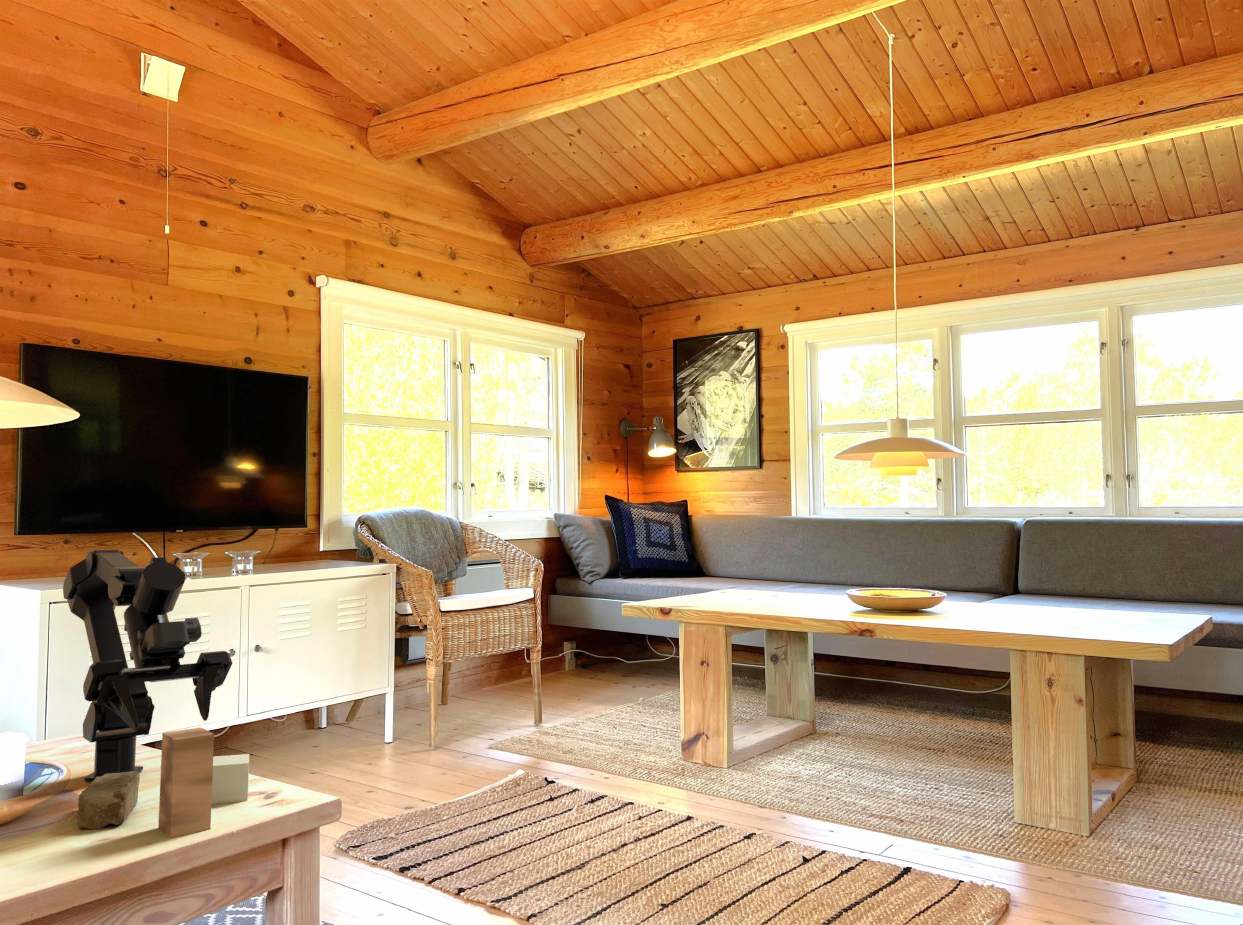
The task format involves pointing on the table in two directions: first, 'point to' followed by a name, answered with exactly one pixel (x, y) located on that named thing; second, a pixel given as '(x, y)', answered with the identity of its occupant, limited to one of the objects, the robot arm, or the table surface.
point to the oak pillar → (186, 781)
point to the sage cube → (230, 778)
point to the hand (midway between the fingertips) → (172, 723)
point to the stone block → (108, 800)
